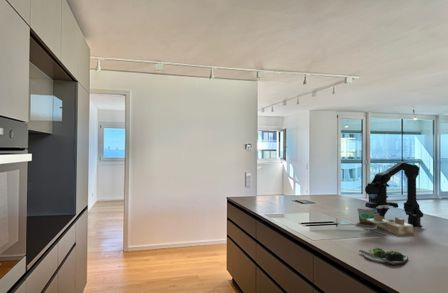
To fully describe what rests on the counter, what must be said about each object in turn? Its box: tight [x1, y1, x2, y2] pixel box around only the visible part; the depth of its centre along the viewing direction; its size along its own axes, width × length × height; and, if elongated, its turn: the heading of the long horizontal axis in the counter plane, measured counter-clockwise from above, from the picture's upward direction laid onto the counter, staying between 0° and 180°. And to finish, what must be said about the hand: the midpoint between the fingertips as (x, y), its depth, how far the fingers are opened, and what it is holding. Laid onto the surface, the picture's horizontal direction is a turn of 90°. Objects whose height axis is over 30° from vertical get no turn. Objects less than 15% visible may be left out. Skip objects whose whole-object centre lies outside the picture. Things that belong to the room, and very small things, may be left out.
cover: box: [366, 214, 390, 224], centre depth 191 cm, size 10×9×4 cm
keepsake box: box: [376, 218, 415, 236], centre depth 187 cm, size 10×20×4 cm, turn 6°
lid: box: [387, 217, 413, 227], centre depth 182 cm, size 10×9×4 cm
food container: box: [356, 207, 377, 226], centre depth 204 cm, size 12×6×10 cm, turn 62°
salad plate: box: [358, 247, 409, 266], centre depth 139 cm, size 19×18×5 cm
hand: (381, 218), depth 191 cm, fingers closed
